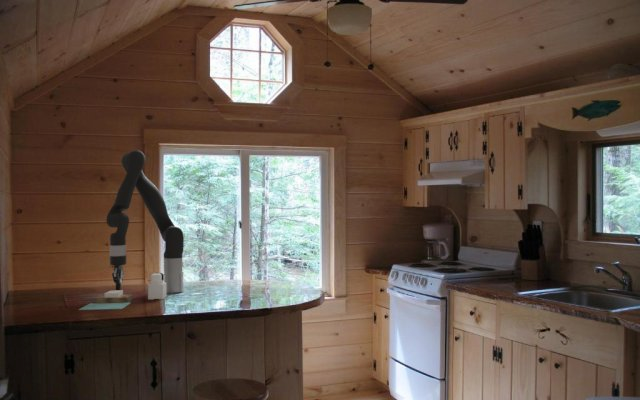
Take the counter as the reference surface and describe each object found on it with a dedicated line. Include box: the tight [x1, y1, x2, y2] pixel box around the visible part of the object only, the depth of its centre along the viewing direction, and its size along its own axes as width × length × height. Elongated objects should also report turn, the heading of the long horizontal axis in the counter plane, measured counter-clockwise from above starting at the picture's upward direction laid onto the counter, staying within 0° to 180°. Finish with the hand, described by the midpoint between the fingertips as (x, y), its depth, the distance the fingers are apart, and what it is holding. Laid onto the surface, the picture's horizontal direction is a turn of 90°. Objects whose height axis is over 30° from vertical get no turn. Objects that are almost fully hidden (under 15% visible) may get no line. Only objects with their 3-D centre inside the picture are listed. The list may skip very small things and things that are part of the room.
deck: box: [93, 293, 134, 303], centre depth 289 cm, size 15×10×2 cm, turn 94°
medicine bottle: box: [147, 272, 168, 301], centre depth 297 cm, size 7×7×12 cm
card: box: [104, 289, 124, 298], centre depth 289 cm, size 9×6×2 cm, turn 4°
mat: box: [78, 301, 132, 311], centre depth 276 cm, size 18×16×1 cm
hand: (118, 291), depth 298 cm, fingers closed
